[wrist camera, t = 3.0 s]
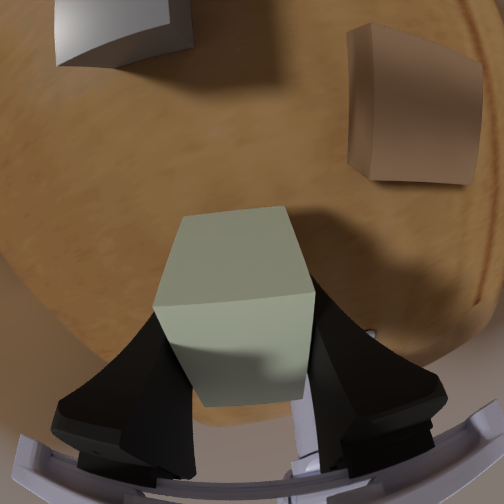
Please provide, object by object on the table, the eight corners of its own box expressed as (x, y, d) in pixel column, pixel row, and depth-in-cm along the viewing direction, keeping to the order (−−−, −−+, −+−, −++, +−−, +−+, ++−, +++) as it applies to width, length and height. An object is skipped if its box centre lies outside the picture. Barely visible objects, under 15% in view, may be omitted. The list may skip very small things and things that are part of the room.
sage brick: (286, 313, 14) (302, 399, 10) (210, 320, 14) (204, 406, 10) (284, 205, 10) (315, 291, 6) (183, 216, 11) (152, 306, 6)
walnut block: (441, 167, 13) (471, 185, 11) (344, 161, 13) (369, 180, 11) (447, 61, 9) (482, 64, 7) (344, 33, 9) (370, 22, 7)
